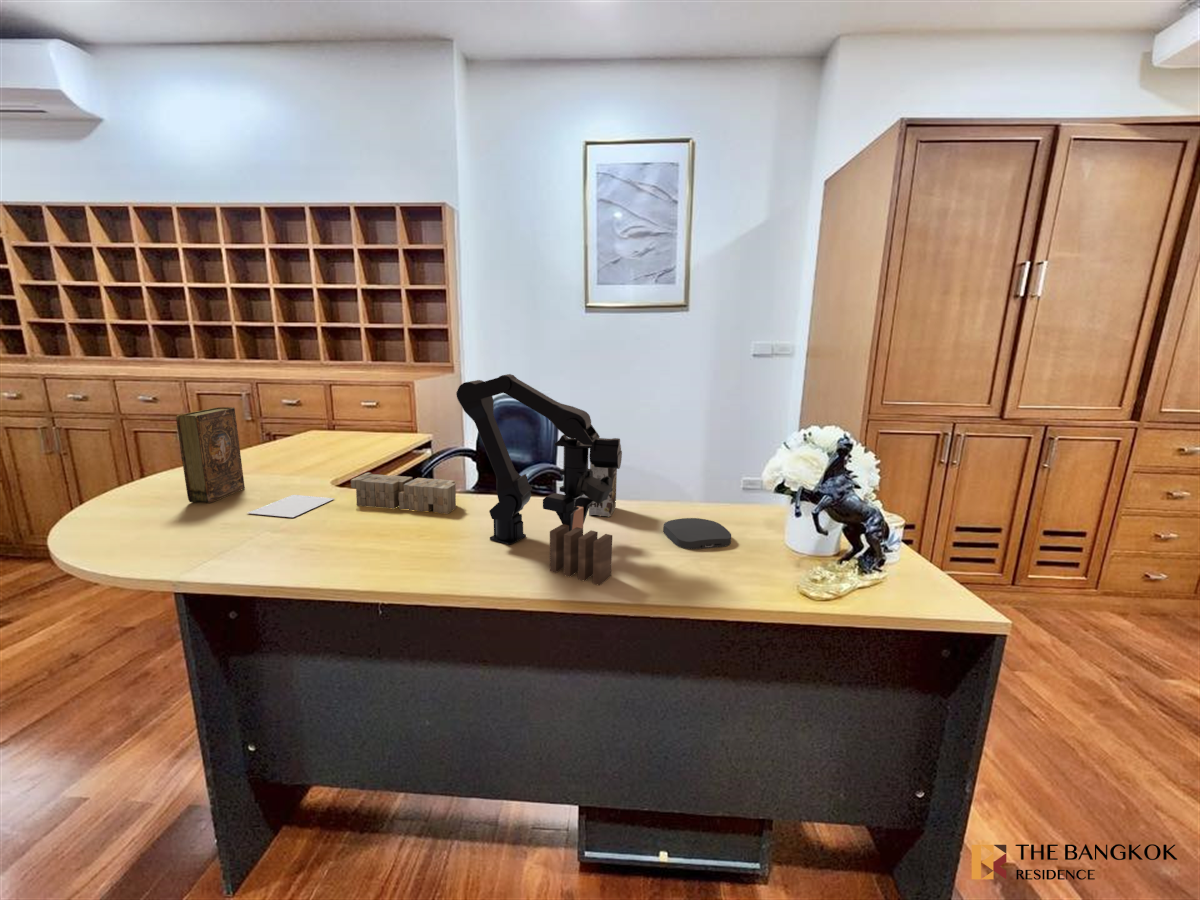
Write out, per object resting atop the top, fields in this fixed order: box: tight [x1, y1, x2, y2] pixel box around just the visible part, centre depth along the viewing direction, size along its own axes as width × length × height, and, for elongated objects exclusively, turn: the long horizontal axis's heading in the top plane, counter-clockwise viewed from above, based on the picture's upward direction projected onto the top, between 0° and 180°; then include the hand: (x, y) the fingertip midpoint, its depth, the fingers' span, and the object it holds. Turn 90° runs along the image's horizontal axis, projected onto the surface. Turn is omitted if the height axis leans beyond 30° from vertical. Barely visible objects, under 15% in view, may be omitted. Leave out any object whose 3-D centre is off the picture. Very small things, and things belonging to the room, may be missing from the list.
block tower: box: [350, 472, 457, 515], centre depth 149 cm, size 8×8×29 cm
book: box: [175, 406, 246, 504], centre depth 151 cm, size 16×6×25 cm, turn 179°
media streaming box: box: [662, 517, 732, 550], centre depth 131 cm, size 15×15×3 cm
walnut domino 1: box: [549, 523, 569, 574], centre depth 111 cm, size 2×5×9 cm, turn 151°
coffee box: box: [588, 461, 618, 517], centre depth 147 cm, size 9×6×16 cm
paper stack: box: [247, 494, 336, 518], centre depth 141 cm, size 23×25×1 cm
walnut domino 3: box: [577, 530, 599, 582], centre depth 108 cm, size 2×5×9 cm, turn 151°
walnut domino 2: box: [563, 527, 584, 578], centre depth 110 cm, size 2×5×9 cm, turn 151°
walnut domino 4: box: [592, 533, 613, 586], centre depth 106 cm, size 2×5×9 cm, turn 151°
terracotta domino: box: [572, 506, 584, 530], centre depth 123 cm, size 2×5×9 cm, turn 151°
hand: (574, 529), depth 123 cm, fingers closed on terracotta domino, 5 cm apart
